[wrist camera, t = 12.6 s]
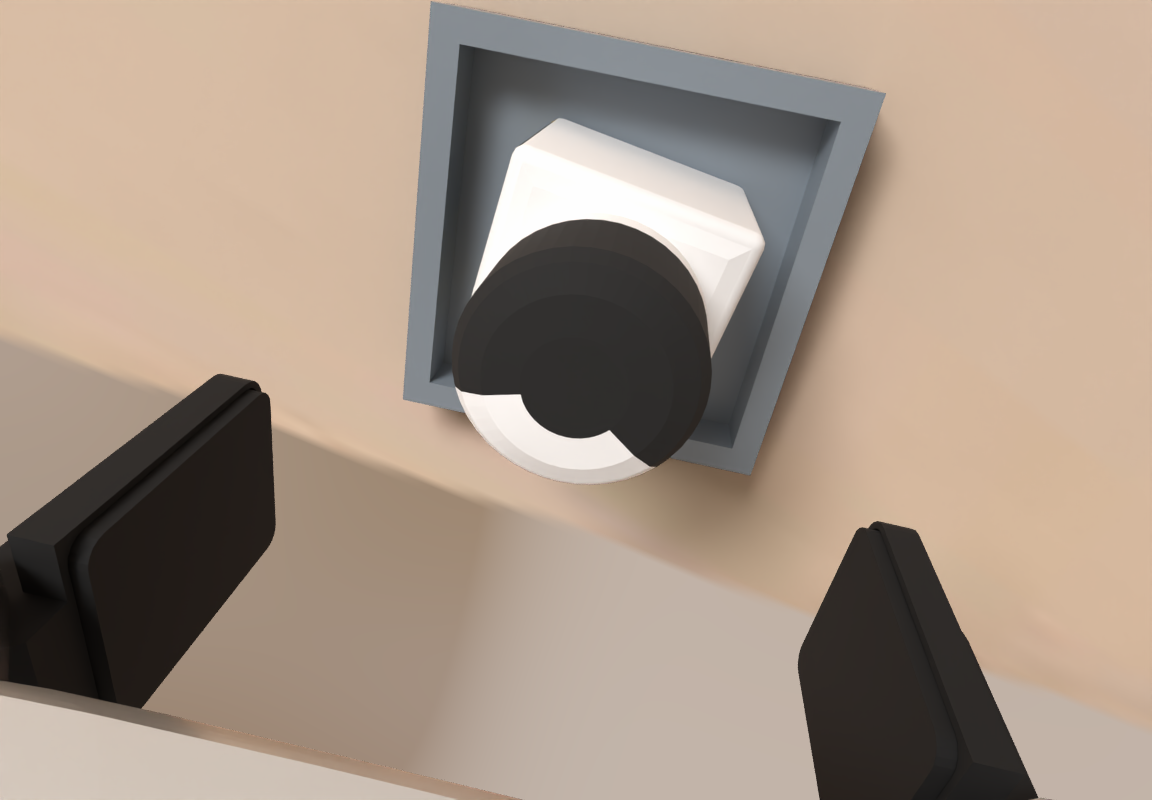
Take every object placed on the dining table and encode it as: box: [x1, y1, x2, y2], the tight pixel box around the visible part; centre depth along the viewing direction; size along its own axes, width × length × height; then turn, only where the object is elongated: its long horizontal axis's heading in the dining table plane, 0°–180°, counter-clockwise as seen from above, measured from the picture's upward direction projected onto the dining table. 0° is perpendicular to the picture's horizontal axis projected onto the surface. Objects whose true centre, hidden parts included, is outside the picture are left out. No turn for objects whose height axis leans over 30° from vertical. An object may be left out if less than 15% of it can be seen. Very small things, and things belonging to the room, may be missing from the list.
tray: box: [403, 1, 886, 475], centre depth 26 cm, size 14×14×2 cm
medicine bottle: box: [452, 118, 765, 485], centre depth 21 cm, size 7×7×12 cm
